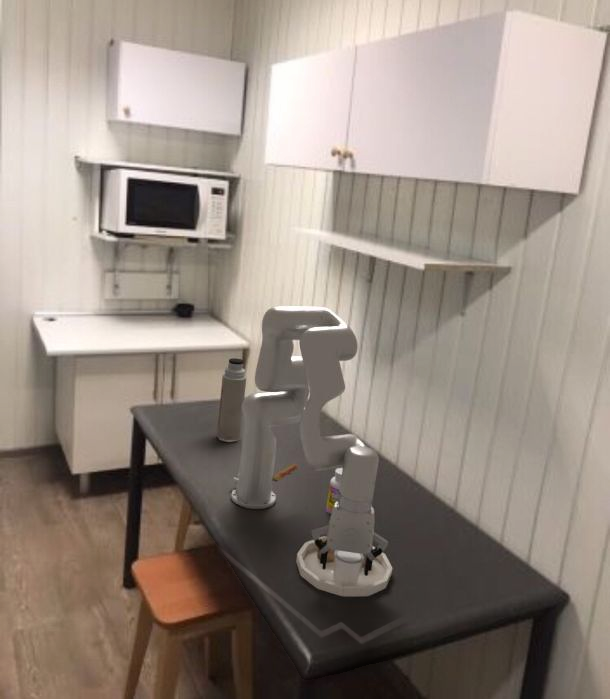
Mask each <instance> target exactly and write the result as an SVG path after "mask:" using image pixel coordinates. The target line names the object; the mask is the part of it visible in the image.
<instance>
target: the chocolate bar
mask: <svg viewBox="0 0 610 699" xmlns="http://www.w3.org/2000/svg"><path fill="white" fill-rule="evenodd" d="M297 468H298V465H297V463H296V462H294V463H293V464H291V465H289V466H288V467H286V468H284V469H283V470H281V471H279V472H278V473H276V474H275V475H273V480H274V479H276V480H279V479H280V478H282V477H284V476H285V475H287V474H289V473H290V472H292V471H293V472H295V471H296V470H295V469H297ZM294 470H295V471H294ZM297 470H298V469H297ZM293 472H292V473H293ZM290 474H291V473H290ZM290 474H289V475H290ZM287 476H288V475H287ZM285 477H286V476H285ZM285 477H284V478H285ZM282 479H283V478H282ZM276 480H275V481H276ZM279 481H280V480H279Z"/></svg>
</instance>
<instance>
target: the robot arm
mask: <svg viewBox="0 0 610 699" xmlns="http://www.w3.org/2000/svg"><path fill="white" fill-rule="evenodd" d="M261 336H262V337H261V338H262V341H261V346H260V350H259V355H258V359H257V364H256V368H255V374H254V385H255V387H256V388H257V390H259V392H254V393H251V394H248V395H247V396H245V397H244V401H243V404H242V440H241V450H240V458H239V459H240V461H239V472H238V473H237V475H236V477H232V482H234V484H236V485H235V488H234V489H233V490H232V491H231V496H230V497H231V500H232V502H233V503H235V504H236V505H237V504H238V505H237V506H239V505H240V507H242V508H245V509H251V510H262V509H267V508H271V507H272V506H274V504H276V502H277V501H276V499H277V496H276V494H275V493H274V491H273V490H272V489H273V488H272V487H273V480H274V479H273V477H274V470H275V461H276V454H277V452H276V451H277V439H276V437H275V435H274V433H273V432H272V429H271V428H272V427H277V426H285V425H286V426H287V425H294V424H297V423H298V422H300V423H299V435H300V440H301V446H302V451H303V454H304V458H305V460H306V463H307V465H308V466H309V467H310V468H311V469H313V470H314V471H318V472H321V471H331V470H336V469H338V468H343V470H342V477H341V484H340V490H339V492H338V493H336V494H335V493H333V494H332V499H335V500H337V502H336V503H335V505H334V507H333V510H332V514H330V517H329V518H330V519H329V522H328V524H327V525H324V526H322V527H318V528H314V529H312V530H311V537H312V540H314V542H315V545H316V546H317V547H318V548H319V549H320V552H321V558H320V564H323V567H322V569H323V570H325V569H326V562H327V554H328V550H329V549H333V550H338V551H345V552H351V553H359V554H366V561H365V567H364V575H365V576H368V571H371V569H372V562H373V560H374V559H375V558H376V557H377V556H379V555H380V554H382V553H384V552H383V551H385V549H386V548H387V547H388V546H389V543H388V540H387V539H385V538H384V537H382V536H381V535H379V534H378V533H376V532H375V519H376V518H375V509H374V507H373V499H374V495H375V494H374V493H375V486H376V478H377V475H378V474H377V473H378V466H379V459H380V458H379V454H378V452H377V451H376V450H374V449H373V448H370V447H368V446H367V445H366V444H365V442H364V440H363V439H362V438H361V437H360V436H358V434H354V433H346V434H335V435H328V436H321V435H322V434H321V430H320V420H319V419H320V415H321V412H322V410H323V409H324V407H325V405H326V404H327V403H328V402H330V401H332V400H334V399H336V398H337V397H339V396H341V395H342V394H343V393H344V392H345V390H346V383H345V380H344V375H343V370H342V368H341V367H342V366H341V362H343V361H351V360H352V359H354V358H355V357H356V355H357V352H358V340H357V336H356V334H355V333H354V331H353V329H352V328H351V327H350V326H349V325H348V324H347V323H346V322H345V321H344V320H343V319H342V318H340V317H339V316H338V315H337V314H336V313H334V312H333V311H332V310H330V309H329V308H327V307H323V306H276V307H275V306H274V307H271V308H268V309H267V310H266V312H265V313H264V315H263V318H262V321H261ZM294 341H299V343H298V344H299V349H300V350H299V351H300V354H301V355H293V354H294ZM323 535H326V537H327V539H326V540H325V541H324V542H323V541H322V540H321V539H320V536H323ZM373 542H375V543H377V544H378V546H376V547H375V549H372V546H373Z"/></svg>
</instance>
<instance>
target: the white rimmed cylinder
mask: <svg viewBox="0 0 610 699" xmlns="http://www.w3.org/2000/svg"><path fill="white" fill-rule="evenodd" d="M363 560H364V556H363V554H359V553H351V552H345V551H338V550H336V551H335V553H334V569H333V582H334V583H336V584H339V585H343V586H357V583H358V579H359V575H360V572H361V568H362V564H363Z"/></svg>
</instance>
